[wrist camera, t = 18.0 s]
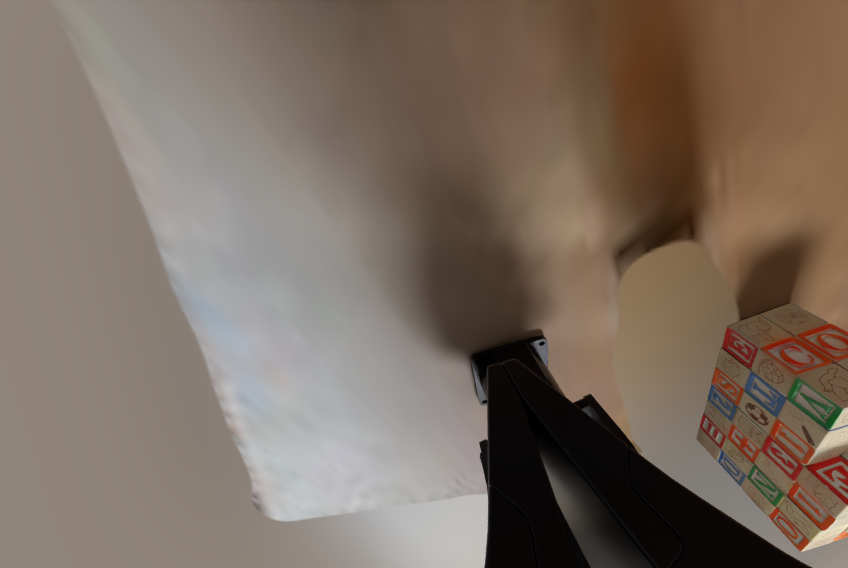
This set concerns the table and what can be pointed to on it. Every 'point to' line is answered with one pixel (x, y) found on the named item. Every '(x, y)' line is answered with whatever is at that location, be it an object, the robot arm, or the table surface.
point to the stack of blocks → (784, 420)
